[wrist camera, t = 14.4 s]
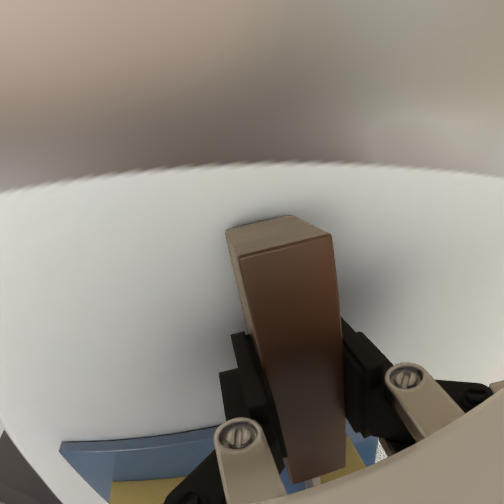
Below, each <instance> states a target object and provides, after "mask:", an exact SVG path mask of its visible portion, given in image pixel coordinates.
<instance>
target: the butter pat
mask: <svg viewBox="0 0 504 504" xmlns="http://www.w3.org/2000/svg"><path fill="white" fill-rule="evenodd" d="M365 467H366V466H365V464H364V463H363V461H362V459H361V457H360V456H359V454H358V452H357V450H356V449H355V447H354V445H353V444H352V442H351V440H350V438H349V437H348V436H346V467H344V468H342V469H339V470H336V471H334V472H331V473H328V474H325V475H322V476H320V478H321V484H324V483H327V482H329V481H332V480H335V479H338V478H340V477H343V476H346V475H348V474H351V473H353V472H356V471H358V470H361V469H363V468H365Z"/></svg>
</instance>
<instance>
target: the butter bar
mask: <svg viewBox="0 0 504 504" xmlns="http://www.w3.org/2000/svg"><path fill="white" fill-rule="evenodd" d="M186 477H187V476H185V477H176V478H166V479H155V480H140V481H113V482H112V486H111V493H110V501H109V504H162V503H164V501H165V498H166V497H167V495H168V494H169V493H170V492H171V491H172V490H173V489H174V488H175V487H176V486H177V485H179V484H180V483H181V482H182V481H183V480H184V479H185V478H186Z"/></svg>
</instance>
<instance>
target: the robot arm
mask: <svg viewBox="0 0 504 504" xmlns="http://www.w3.org/2000/svg"><path fill="white" fill-rule="evenodd" d="M341 328H342V341H343V357H344V375H345V399H346V419H347V420H348V422H349V424H350V425H351V427H352V429H353V430H354V432H355V433H359V432H360V433H361V435H362V436H363V438H364V439H365V438H368V437H370V436H374V437H379V441H380V443H381V445H382V447H383V449H384V450H385V452H386V454H387V456H388V458H386V459H383V460H381V461H379V462H377V463H375V464H372V465H370V466H368V467H365V468H363V469H361V470H358V471H356V472H353V473H351V474H348V475H346V476H343V477H340V478H338V479H335V480H332V481H329V482H327V483H324V484H321V485H318V486H315V487H312V488H309V489H305V490H302V491H299V492H296V493H292V494H289V495H287V492H286V490H285V487H284V485H283V482H282V479H281V477H280V474H281V472H282V471H283V470H284V468H285V465H284V461H283V458H286V457H288V455H287V451H286V446H285V442H284V438H283V434H282V429H281V425H280V421H279V416H278V412H277V408H276V404H275V401H274V397H273V394H272V391H271V389H270V386H269V383H268V380H267V378H266V377H265V376H264V373H263V371H262V368H261V365H260V362H259V359H258V356H257V353H256V350H255V347H254V344H253V341H252V339H251V336H250V334H248V335H246V334H245V331H244V332H240V333H236V334H232V335H231V340H232V344H233V348H234V353H235V357H236V361H237V365H238V368H236V369H232V370H228V371H224V372H219V378H220V385H221V392H222V398H223V404H224V411H225V417H226V422H224V423H223V424H221V425H220V426H219V427H218V428H217V429H216V431H215V434H214V445H215V449H214V450H213V451H212V452H211V453H210V454H209V455H208V456H207V457H206V458H205V459H204V460H203V461H202V462H201V463H200V464H199V465H198V466H197V467H196V468H195V469H194V470H193V471H192V472H191V473H190V474H189V475H188V476H187V477H186V478H185V479H184V480H183V481H182V482H181V483H180V484H179V485H177V486H176V487H175V488H174V489H173V490H172V491H171V492H170V493H169V494H168V495H167V497H166V498H165V501H164V503H162V504H504V380H503V381H500V382H496V383H491V384H490V385H489V387H487V386H485V385H483V384H480V383H470V382H456V381H444V380H434V379H433V378H432V376H431V375H430V374H429V373H428V372H427V371H426V370H425V369H424V368H423V367H421V366H420V365H417V364H415V363H409V362H408V363H400V364H396V365H393V364H392V363H391V362H390V361H389V360H388V359H387V358H386V357H385V356H384V355H383V354H382V353H381V352H380V350H379V349H378V348H377V347H376V346H375V345H374V344H373V343H372V342H371V341H370V340H369V339H368V338H367V337H366V336H365V335H364V334H363V333H362V332H357V333H356V332H355V331H354V330H353V329H352V328H351V327H350V326H349V325H348V324H347V323H346V321H345V320H344V319H343V318H342V317H341Z"/></svg>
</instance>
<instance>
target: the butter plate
mask: <svg viewBox="0 0 504 504" xmlns="http://www.w3.org/2000/svg"><path fill="white" fill-rule="evenodd" d="M218 427H219V426H217V427H212V428H207V429H202V430H196V431H190V432H184V433H178V434H171V435H164V436H156V437H148V438H138V439H128V440H115V441H99V442H62V443H61V446H60V449H59V452H60V453H61V455H62V456H63V457H64V458H65V459H66V460H67V462H68V463H69V464H70V465H71V466H72V467H73V468H74V469H75V470H76V471H77V473H78V474H79V475H80V476H81V477H82V478H83V479H84V480H85V481H86V482H87V483H88V484H89V485H90V486H91V487H92V488H93V489H94V490H95V491H96V492H97V493H98V494H99V495H100V496H101V497H102V498H103V499H105V500H106V501H107V502H108V503H109V501H110V493H111V486H112V482H113V481H140V480H155V479H166V478H176V477H185V476H188V475H189V474H190V473H191V472H192V471H193V470H194V469H195V468H196V467H197V466H198V465H199V464H200V463H201V462H202V461H203V460H204V459H205V458H206V457H207V456H208V455H209V454H210V453H211V452H212V451H213V450H214V449H215V445H214V434H215V431H216V429H217V428H218ZM346 436H348V437H349V438H350V440H351V442H352V444H353V445H354V447H355V449H356V450H357V452H358V454H359V456H360V457H361V459H362V461H363V463H364V464H365V466H366V467H368V466H370V465H372V464H375V458H376V452H377V445H378V439H379V437H374V436H370V437H368V438H365V439H364V438H363V436H362V435H361V433H360V432H359V433H355V432H354V430H353V429H352V427H351V425H350V424H349V422H348V420H347V419H346ZM284 465H285V464H284ZM280 477H281V479H282V482H283V485H284V487H285V490H286V492H287V495H289V494H292V493H296V492H299V491H302V490H305V489H306V488H305V483H304V482H300V483H297V484H291V481H290V479H289V476H288V473H287V470H286V467H285V468H284V470H283V471H282V472H281V474H280Z"/></svg>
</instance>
